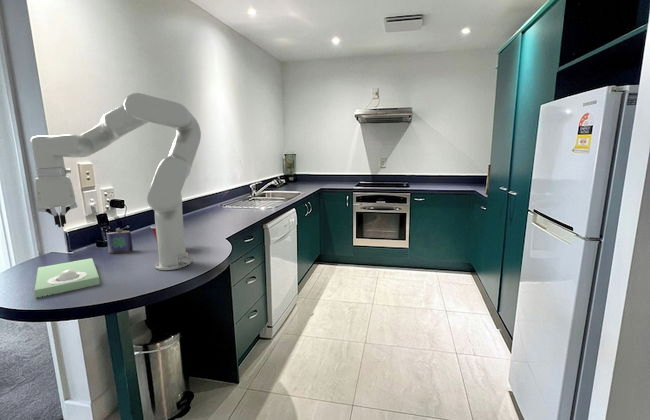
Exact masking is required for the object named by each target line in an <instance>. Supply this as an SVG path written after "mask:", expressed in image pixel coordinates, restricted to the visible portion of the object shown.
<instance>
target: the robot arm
mask: <svg viewBox="0 0 650 420" xmlns="http://www.w3.org/2000/svg"><path fill="white" fill-rule="evenodd" d="M147 123H152V124H157V125H161V126H166V127H170V128H172V129H175V132H176V133H175V136H174V139H173V142H172V143H171V144H172V145H171V148H170V150H169V153H168V155H167V156H166V157H164V158H163V159H162V160H160V162H159V164H158V166H157V168H156V171H155V173H154V175H153V179H152V180H151V181H152V182H151V184H150V187H149V189H148V192H147V195H146V202H147V204H148V206H149V207H150V208H151V209H152V210H153V211H154V223H155V224H154V225H155V226H156V236H157V241H156V243H157V244H156V245H157V252H158V261H157V262H156V263H155V264H154V268H155V269H156V270H159V271H172V270H173V271H174V270H177V269H182V267H183V268H185V266H186V267H188V266H189V265H190V264H192V261H193V260H194V257H193V256H189V253H188V252H187V251H186V241H185V240H186V239H185V238H186V237H185V229H184V217H183V195H182V190H183V187H184V185H185V182H186V180H187V179H188V177H189V176H190V173H191V168H192V167H193V163H194V160H195V158H196V154H197V152H198V149H199V146H200V142H201V137H202V136H201V135H202V134H201V133H202V132H201V128H200V127H201V126H200V124H199V123H198V120H197V119H196V118H195V116H194V114H192V113H191V111H190V110H189V109H188V108H187V107H185V106H184V104H181V103H180V102H177V101H173V100H168V99H165V98H161V97H160V98H159V97H157V96H152V95H149V94H145V93H140V92H133V93H131V94H129V95H127V96H126V97H125V99H124V101H123V104H121V105H119V106H118V107H115V108H114V109H112V110H109V111H108V112H106V113H104V114H102V116H101V118H100V121H99V123H98V124H97V125H95V126H94V127H93V128H91V129H88V130H87V131H85V132H83V133H81V134H60V135H35V136H32V137H31V138H30V143H31V144H30V145H31V150H32V154H33V155H32V156H33V160H34V164H35V171H36V176H37V177H36V178H34V190H35V191H34V192H35V193H34V194H35V198H36V203H37V209H36V210H37V211H38V213H39V212H41V213H48V214H50V215H52V216H53V219H54V220H53V221H54V224H55V226H57V227H58V228H62V227H65V224H67V220H66V214H67V213H68V212H69V211H70V210H73V209H76V208H78V205H77V203H76V196H75V191H74V187H73V183H72V180H71V178H70V176H67V175H68V174H71V173H72V169H71V168H66V165H65V160H64V158H87V157H89V156H91V155H93V154H95V153H97V152H99V151H101V150H103V149H104V148H107V147H108V146H110V145H112V144H113V143H114V142H116V141H117V140H119V139H120V138H122V137H123V136H125V135H127V134H129V133H131V132H133V131H135V130H136V129H138V128H141V127H142V126H144V125H146V124H147ZM56 207H57V208H59V207H60V212H59V214H58V212H57V211H56ZM187 265H188V266H187Z"/></svg>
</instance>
